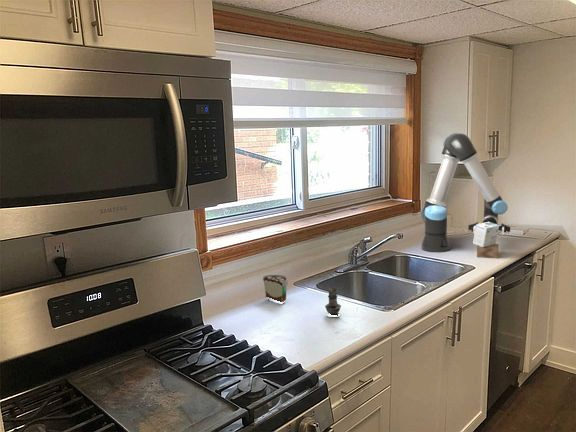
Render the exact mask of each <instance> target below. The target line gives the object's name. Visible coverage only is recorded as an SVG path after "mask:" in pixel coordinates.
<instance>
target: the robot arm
mask: <svg viewBox="0 0 576 432" xmlns="http://www.w3.org/2000/svg"><path fill="white" fill-rule="evenodd" d="M440 154H441V157H442V160H441V162H440V163H441V164H440V167H439V169H438V173H437V175H436V178H435V180H434V184H433V187H432V190H431V192H430V193H431V194H430V196H429V198H427V199H426V200H425V203H424V205H423V206H422V208H421V210H420V218H421V220H422V222H423V223H424V236H423V239H422V242H421V250H423V251H425V252H430V253H431V252H432V253H441V252H442V253H443V252H447V251H450V249H451V245H450V241H449V239H448V236H447V235H448V234H447V231H448V230H447V229H448V210H447V205H446V203H445V201H446V199H447V196H448V192H449V190H450V187H451V185H452V181H453V179H454V176H455V173H456V170H457V167H458V164H459V163H462V164H463V166H465V168H466V171H468V173H469V175H470V176H471V179H472V180H473V181H474V182H473V183H475V185H476V186H477V188H478V190H479V191H480V193H481V195H482V197H483V220H482V223H485V222H491V223H494V224H497V225H499V230H498V231H501V235H502V236H503V235H504V234H505V233H507V232H508V233H510V232H511V226H509V225H506V224H504V223H503V222H502V223H500V224H498V222H499V215H503V214H505V213H506V212H507V211H508V208H509V206H508V204H507V202H506V201H504V200H503V198H502V196H501V195H500V193H499V191H498V190H497V188H496V186H495V184H494V183H493V181H492V180H491V178H490V176H489V174H488V172H487V171H486V170H485V168H484V166H483V165H482V163H481V160H480V159H479V158H478V156H477V155H478V152H477V150H476V147H475V146H474V144H473V142H472V140H471V138H470V137H469V136H467V135H466V134H464V133H461V132H460V133H458V132H454V133H453V132H452V133H451V134H449V135H448V136H446V137H445V139H444V141H443V149H442V151H441V153H440ZM476 224H480V223H479V222H475V223H471V224H469V225H468V226H467V227H468V231H470V230H471V233H473V234H475V229H476Z"/></svg>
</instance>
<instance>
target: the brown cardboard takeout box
mask: <svg viewBox="0 0 576 432" xmlns="http://www.w3.org/2000/svg"><path fill="white" fill-rule="evenodd" d="M476 246H477V247H476V258H486V259H487V258H488V259H498V258H499V244H498V243H496V244H494V245H490V246H486V247H480V246H478V245H476Z"/></svg>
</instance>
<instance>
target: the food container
mask: <svg viewBox="0 0 576 432" xmlns="http://www.w3.org/2000/svg"><path fill="white" fill-rule="evenodd" d="M262 282H263V283H264V291H265V293H264V294H265V298H266V297H269V298H272V299H274V300H277V301H280V302H284V301H285V300H286V301H287V287H288V285H289V281H288V278H287V276H285V275H281V274H268V275H263V277H262Z"/></svg>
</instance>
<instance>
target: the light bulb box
mask: <svg viewBox="0 0 576 432" xmlns="http://www.w3.org/2000/svg"><path fill="white" fill-rule="evenodd" d="M499 225H500V224H498V225H497V224H494V223H491V222H485V223H483V222H482V223H479V224H476V229H475V233H473V234H474V236H473V240H472V244H474V245H476V246H480V247H486V246H490V245H494V244H497V238H498V234H499V231H500V230H499Z"/></svg>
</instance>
